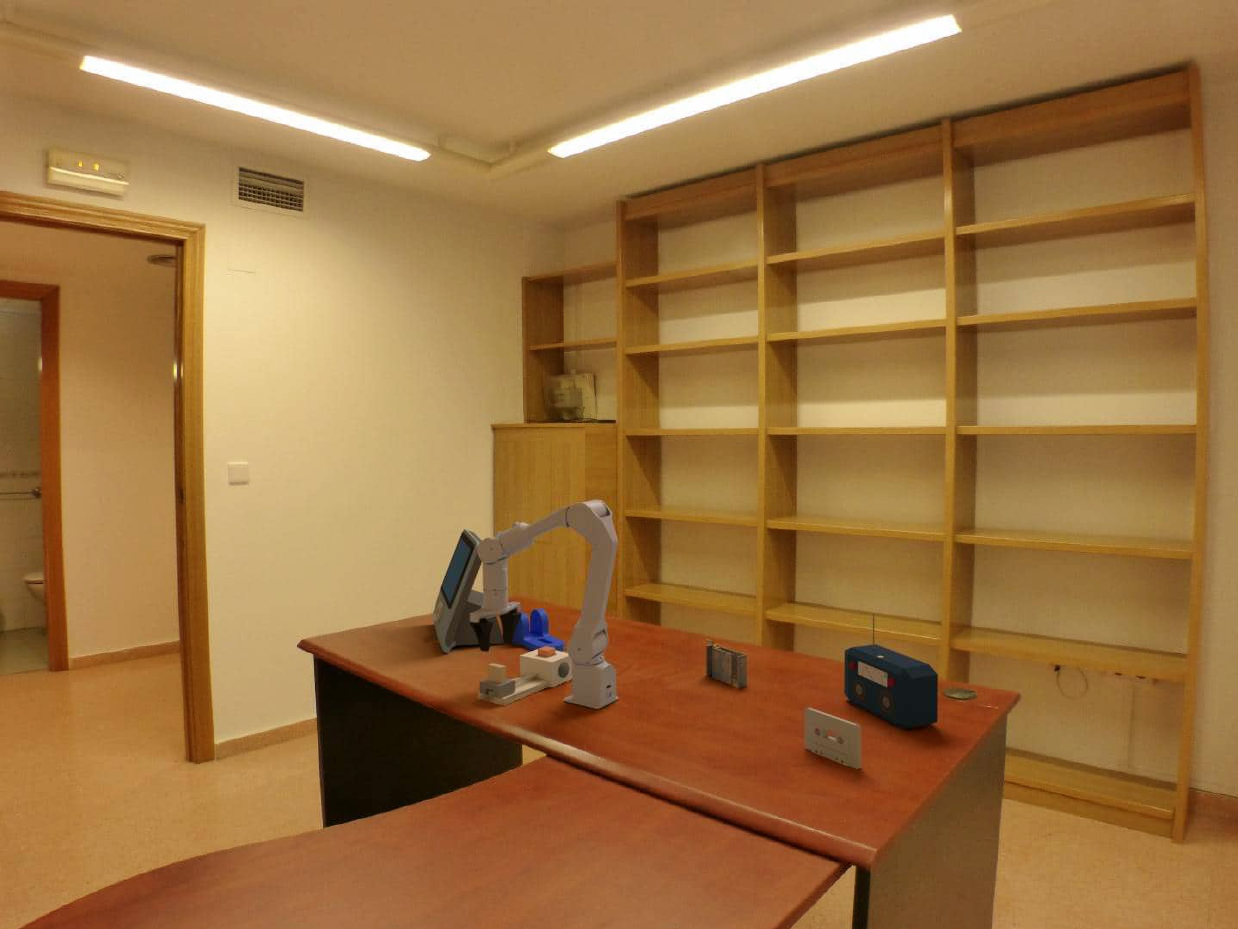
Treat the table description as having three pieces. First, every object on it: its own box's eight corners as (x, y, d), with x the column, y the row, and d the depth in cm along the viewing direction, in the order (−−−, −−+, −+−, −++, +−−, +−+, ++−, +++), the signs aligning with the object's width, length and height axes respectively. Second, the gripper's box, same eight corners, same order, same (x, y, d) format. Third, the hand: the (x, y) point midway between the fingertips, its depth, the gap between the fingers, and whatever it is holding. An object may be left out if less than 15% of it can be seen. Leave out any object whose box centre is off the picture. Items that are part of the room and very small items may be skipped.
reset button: (555, 656, 187) (555, 648, 187) (547, 659, 184) (547, 651, 184) (545, 654, 188) (545, 646, 188) (537, 657, 186) (537, 649, 186)
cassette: (802, 748, 145) (802, 708, 145) (808, 746, 146) (808, 706, 146) (856, 771, 135) (856, 727, 135) (863, 768, 136) (863, 725, 136)
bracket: (510, 642, 221) (510, 610, 221) (536, 637, 226) (535, 606, 226) (543, 656, 207) (543, 622, 207) (570, 651, 212) (569, 618, 211)
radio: (839, 700, 171) (839, 610, 170) (871, 695, 174) (872, 606, 173) (905, 734, 151) (906, 632, 150) (941, 728, 154) (941, 628, 153)
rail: (538, 678, 183) (538, 674, 183) (493, 696, 170) (493, 691, 170) (533, 677, 184) (533, 673, 184) (488, 695, 171) (488, 690, 171)
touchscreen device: (427, 624, 241) (429, 528, 240) (490, 622, 247) (492, 527, 246) (435, 655, 208) (438, 543, 207) (508, 651, 214) (511, 542, 213)
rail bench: (549, 687, 181) (549, 680, 181) (504, 705, 169) (504, 699, 169) (523, 681, 186) (523, 674, 185) (478, 699, 173) (477, 692, 173)
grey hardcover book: (704, 677, 189) (704, 637, 188) (714, 675, 190) (714, 635, 190) (737, 690, 179) (736, 648, 179) (746, 687, 181) (746, 646, 181)
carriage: (515, 691, 173) (514, 664, 173) (499, 697, 169) (499, 670, 168) (495, 686, 176) (495, 660, 176) (479, 692, 172) (479, 666, 172)
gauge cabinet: (575, 679, 187) (574, 654, 186) (553, 688, 180) (553, 662, 180) (541, 671, 193) (541, 647, 192) (520, 680, 186) (519, 655, 186)
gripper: (504, 582, 188) (505, 637, 188) (459, 592, 176) (461, 651, 176) (526, 584, 184) (527, 641, 184) (482, 595, 172) (483, 656, 172)
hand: (496, 647), depth 180 cm, fingers open, 7 cm apart
